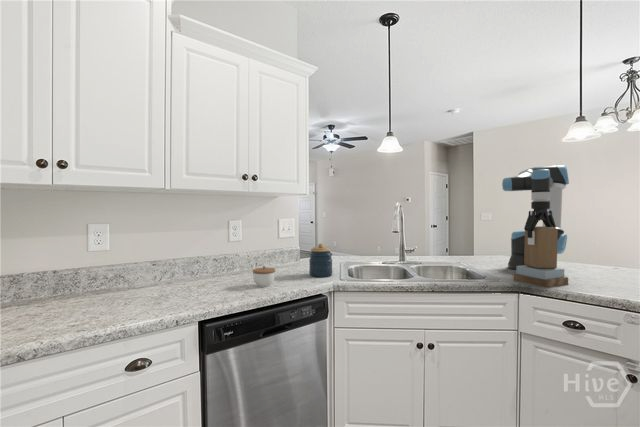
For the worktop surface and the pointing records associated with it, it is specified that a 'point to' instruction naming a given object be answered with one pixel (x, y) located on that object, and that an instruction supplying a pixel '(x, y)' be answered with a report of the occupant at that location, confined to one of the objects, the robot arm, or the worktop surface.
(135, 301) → the worktop surface
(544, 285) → the tower base
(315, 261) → the canister
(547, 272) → the tower top
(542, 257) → the block
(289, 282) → the worktop surface
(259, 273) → the lidded jar
